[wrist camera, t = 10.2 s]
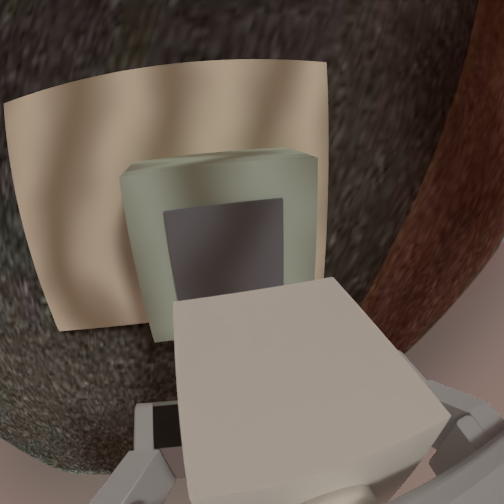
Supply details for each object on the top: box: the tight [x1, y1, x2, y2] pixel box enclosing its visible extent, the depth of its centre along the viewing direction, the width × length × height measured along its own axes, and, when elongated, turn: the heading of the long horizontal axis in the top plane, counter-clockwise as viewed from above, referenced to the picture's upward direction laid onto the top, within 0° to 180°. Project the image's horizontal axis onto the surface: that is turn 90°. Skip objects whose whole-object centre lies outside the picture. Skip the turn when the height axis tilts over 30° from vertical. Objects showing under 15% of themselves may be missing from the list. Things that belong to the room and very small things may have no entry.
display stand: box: [4, 59, 328, 343], centre depth 19 cm, size 22×18×7 cm
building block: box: [173, 277, 451, 504], centre depth 8 cm, size 5×5×7 cm
